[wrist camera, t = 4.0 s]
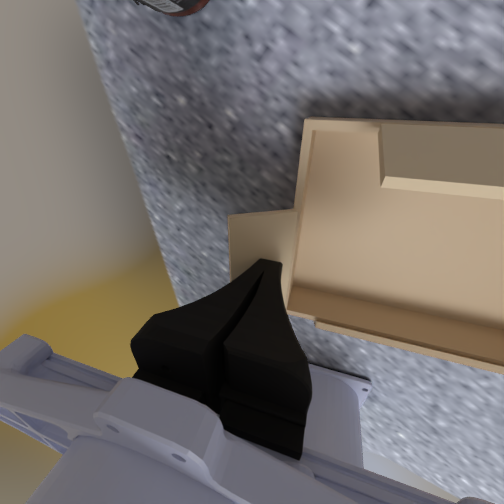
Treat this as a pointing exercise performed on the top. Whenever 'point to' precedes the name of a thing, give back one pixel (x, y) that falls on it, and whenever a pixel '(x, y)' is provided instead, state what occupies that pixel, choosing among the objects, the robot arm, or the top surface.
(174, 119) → the top surface
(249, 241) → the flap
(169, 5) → the supplement bottle
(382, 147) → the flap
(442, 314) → the carton
